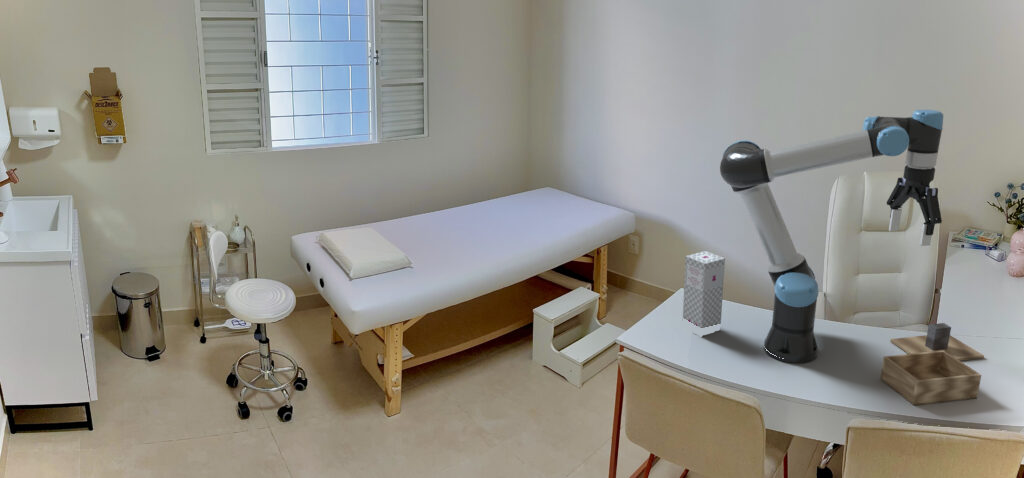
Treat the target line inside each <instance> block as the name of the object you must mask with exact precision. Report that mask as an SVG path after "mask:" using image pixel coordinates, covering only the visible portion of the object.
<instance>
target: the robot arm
mask: <svg viewBox="0 0 1024 478" xmlns="http://www.w3.org/2000/svg"><path fill="white" fill-rule="evenodd" d="M943 125H944V113H943V112H942V111H940V110H935V109H916V110H914V111H913V114H912V115H911V116H910V117H897V116H896V117H895V116H880V115H877V116H867V117H866V118H864V121H863V126H862V130H861V131H856V132H853V133H852V132H851V133H846V134H843V135H838V136H833V137H828V138H824V139H819V140H814V141H811V142H806V143H800V144H797V145H793V146H792V145H791V146H788V147H783V148H779V149H774V150H768V149H766V148H762V149H761V147H760V146H759V144H757V143H755V142H753V141H751V140H747V139H746V140H745V139H744V140H743V139H742V140H738V141H735V142H734V143H732V144H729V146H728V147H727V148H725V150H724V152H723V154H722V158H721V160H720V164H719V173H720V175H721V178H722V179H723V180H724V181H725V182H726V184H728V185H729V186H731V189H732V191H733V192H734V193H735V194H738V195H740V198H741V199H742V201H743V203H744V205H745V208H746V211H747V213H748V216H749V217H750V220H751V222H752V225H753V227H754V229H755V231H756V234H757V236H758V238H759V241H760V243H761V246H762V248H763V250H764V253H765V254H766V256H767V259H768V261H769V264H768V265H767V268H766V269H767V273H768V274H769V277H770V280H771V282H772V284H773V286H774V296H773V297H774V299H773V312H772V324H771V326H770V329H769V331H768V333H767V335H766V337H765V339H764V344H763V350H764V352H765V354H767V355H768V356H770V357H771V358H773V359H774V360H775V359H776V360H778V361H781V362H785V363H791V364H804V363H809V362H812V361H814V360H815V359H817V357H818V350H819V347H818V343H817V340H816V336H815V331H814V329H815V328H814V327H815V319H816V312H817V311H816V310H817V303H818V302H817V301H818V296H819V283H818V282H817V280H816V276H815V274H814V271H813V270H812V268H811V267H810V266H809V264H808V262H807V261H808V260H807V258H806V257H805V255H803V254H802V253H800V252H798V251H797V249H796V247H795V245H794V242H793V239H792V238H791V235H790V233H789V230H788V227H787V225H786V223H785V221H784V218H783V216H782V214H781V210H780V209H779V206H778V204H777V202H776V200H775V197H774V194H773V192H772V189H771V188H770V185H769V183H772V182H773V181H774V179H775V178H779V177H784V176H788V175H792V174H798V173H803V172H808V171H813V170H818V169H821V168H828V167H832V166H836V165H842V164H845V163H850V162H855V161H860V160H865V159H871V158H875V157H880V156H887V157H897V156H900V155H902V154H903V153H904V152H905V151H906V150H907V151H906V155H905V156H906V157H905V161H904V163H905V164H906V165H905V166H904V169H903V170H904V171H903V175H902V177H897V181H896V184H895V187H894V188H893V190H892V192H891V194H889V197H888V199H887V201H886V205H887V206H889V207H890V214H889V215H890V216H889V218H890V219H889V225H888V231H889V232H896V231H899V230H900V223H901V218H902V217H901V216H902V212H903V211H902V210H903V209H902V208H903V207H902V206H904V204H905V203H906V202H907V201H908V200H909V199H910V198H912V199H913V200H915V201H916V202H917V203H918V204H919V207H920V210H921V213H922V215H923V220H924V222H923V224H922V228H921V234H920V239H919V246H921V247H926V246H931V241H932V236H933V235H934V230H935V226H936V225H937V224H942V222H943V219H942V216H941V215H942V214H941V209H940V208H941V207H940V203H939V194H938V193H939V188H938V187H931V185H930V183H932V181H934V179H935V173H936V168H935V167H936V166H937V159H938V153H939V148H940V143H941V137H942V132H943V128H944V127H943ZM764 346H765V348H766V349H767V350H768V351H769V352H770V353H772V354H774V355H776V356H777V357H776V356H774V355H772V354H770V353H769V352H768V351H766V349H765V348H764ZM779 357H780V358H779ZM782 358H784V359H782Z"/></svg>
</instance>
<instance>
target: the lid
mask: <svg viewBox="0 0 1024 478" xmlns="http://www.w3.org/2000/svg"><path fill="white" fill-rule="evenodd" d="M951 331H952V327H951V326H950V325H948V324H946V323H945V322H940V323H931V324H928V327H927V333H926V334H925V335H924V334H923V335H917V336H915V335H914V336H907V337H900V338H890V343H892V344H893V345H895V347H898V348H899V349H901V350H902V351H904V352H905V354H913V353H922V352H931V351H941V350H944V351H945V352H947V353H948V354H950V355H951V356H953V357H955V358H956V359H958V360H959V361H961V362H962V361H967V360H979V359H984V357H985V355H984V354H982V353H981V352H980V351H978V350H976V349H974V348H972V347H970V346H969V345H968V344H965V343H964V342H962V341H961V340H959V339H957V338H956V337H954V336H952V335H951Z"/></svg>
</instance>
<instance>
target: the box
mask: <svg viewBox="0 0 1024 478" xmlns="http://www.w3.org/2000/svg"><path fill="white" fill-rule="evenodd" d="M684 261H685V262H684V265H685V266H684V280H683V281H684V283H683V284H684V285H683V306H682V319H683V318H684V319H686V320H688V321H689V322H691V323H693V324H694V325H696V326H698V327H700V328H705V327H709V326H713V325H717V324H721V323H722V313H723V312H722V309H723V308H722V307H723V296H724V279H725V267H726V266H725V264H726V258H725V257H722V256H720V255H718V254H715V253H713V252H710V251H707V250H704V251H699V252H696V253H692V254H688V255H685V260H684ZM721 325H722V324H721Z"/></svg>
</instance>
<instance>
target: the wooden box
mask: <svg viewBox="0 0 1024 478" xmlns="http://www.w3.org/2000/svg"><path fill="white" fill-rule="evenodd" d="M981 379H982V374H981V373H979V372H978V371H977V370H974V369H973V368H971V367H970V366H968V364H965V363H963V362H962V361H959V360H958V359H956V358H955V357H953V356H951V355H950V354H948V353H947V352H945V351H944V350H941V351H931V352H922V353H913V354H908V353H904V354H896V355H886V356H883V358H882V367H881V371H880V380H882V381H883V382H884V383H885V384H886V385H887V386H889V388H891V389H892V390H894V391H895V393H897V394H899V395H900V396H901V397H903V399H905V400H906V401H907V402H909V403H910V404H912V405H913V406H922V405H924V406H925V405H932V404H941V403H948V402H956V401H958V402H959V401H966V400H975V399H978V394H979V389H980V385H981Z"/></svg>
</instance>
